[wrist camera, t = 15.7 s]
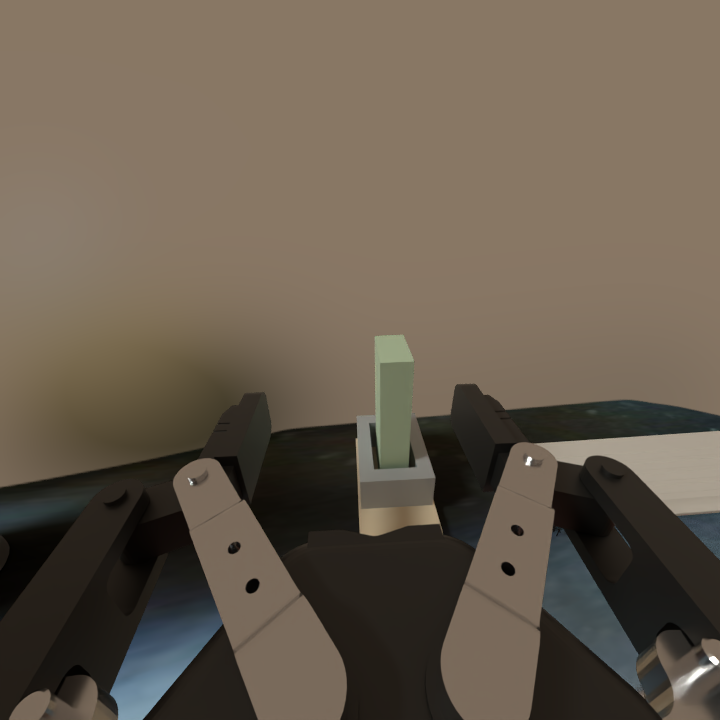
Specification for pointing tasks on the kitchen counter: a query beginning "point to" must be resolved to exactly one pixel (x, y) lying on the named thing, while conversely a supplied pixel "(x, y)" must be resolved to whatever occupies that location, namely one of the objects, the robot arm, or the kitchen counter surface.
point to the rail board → (392, 512)
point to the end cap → (394, 471)
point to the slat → (393, 400)
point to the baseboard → (660, 465)
